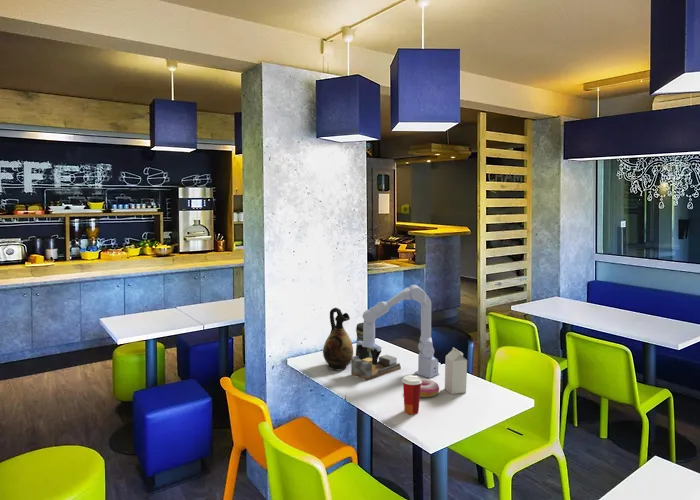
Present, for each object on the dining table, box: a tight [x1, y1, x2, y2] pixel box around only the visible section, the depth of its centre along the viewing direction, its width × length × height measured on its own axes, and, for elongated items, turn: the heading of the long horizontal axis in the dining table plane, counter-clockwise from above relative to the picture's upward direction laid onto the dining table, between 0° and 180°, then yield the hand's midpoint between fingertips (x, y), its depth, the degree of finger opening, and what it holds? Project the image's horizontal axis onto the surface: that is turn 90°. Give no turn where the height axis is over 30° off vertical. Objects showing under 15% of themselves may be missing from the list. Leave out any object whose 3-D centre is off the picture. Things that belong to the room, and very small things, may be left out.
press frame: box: [350, 358, 402, 381], centre depth 253 cm, size 11×24×8 cm, turn 134°
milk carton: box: [444, 347, 468, 395], centre depth 229 cm, size 7×7×19 cm
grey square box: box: [378, 354, 398, 367], centre depth 259 cm, size 7×6×4 cm
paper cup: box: [401, 374, 422, 416], centre depth 206 cm, size 8×8×14 cm
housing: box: [362, 358, 375, 372], centre depth 250 cm, size 4×4×6 cm
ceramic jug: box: [322, 307, 354, 371], centre depth 260 cm, size 17×15×30 cm
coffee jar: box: [355, 322, 374, 359], centre depth 276 cm, size 10×8×19 cm
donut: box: [420, 378, 440, 398], centre depth 227 cm, size 14×13×5 cm
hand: (368, 362), depth 249 cm, fingers open, 7 cm apart
